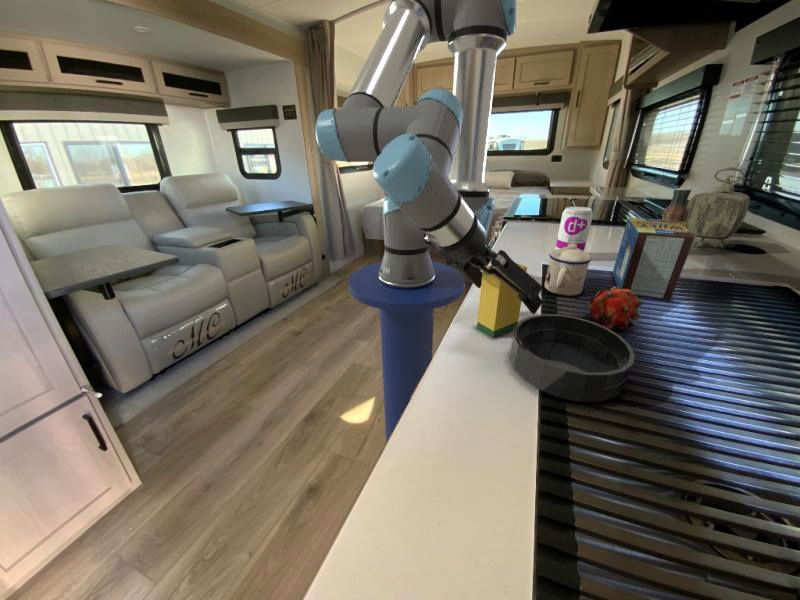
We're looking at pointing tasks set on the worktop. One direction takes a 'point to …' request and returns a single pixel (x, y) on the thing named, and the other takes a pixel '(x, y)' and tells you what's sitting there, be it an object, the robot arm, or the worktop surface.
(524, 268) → the sponge
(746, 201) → the tabletop clock
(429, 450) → the worktop surface
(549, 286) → the teacup with lid
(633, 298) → the dragon fruit
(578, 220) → the supplement can
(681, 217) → the sauce bottle
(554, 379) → the bowl
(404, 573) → the worktop surface
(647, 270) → the protein box
